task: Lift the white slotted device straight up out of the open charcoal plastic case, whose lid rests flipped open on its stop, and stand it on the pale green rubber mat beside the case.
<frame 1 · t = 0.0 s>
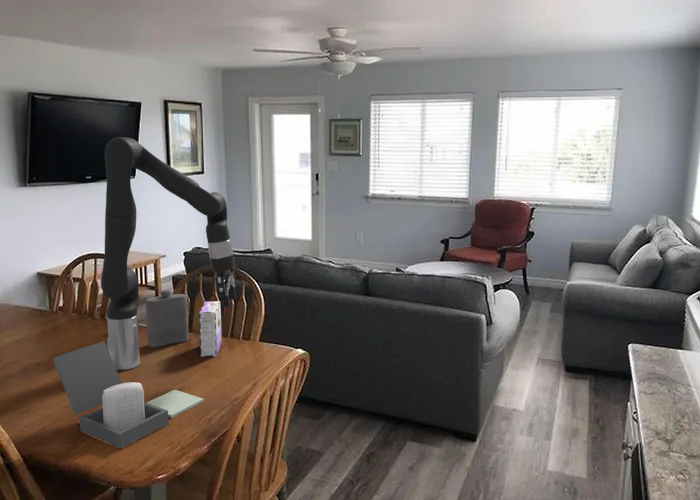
hand: (229, 303, 190), 22 cm above the table, tool pointing down, fingers open, 8 cm apart
flask: (168, 343, 217), on the table
candy box: (211, 350, 210), on the table
case: (125, 428, 153), on the table
mat: (173, 404, 167), on the table
case lid: (89, 376, 158), point 11 cm above the table, hinge at 120.0°
white slotted device: (125, 429, 153), resting in case
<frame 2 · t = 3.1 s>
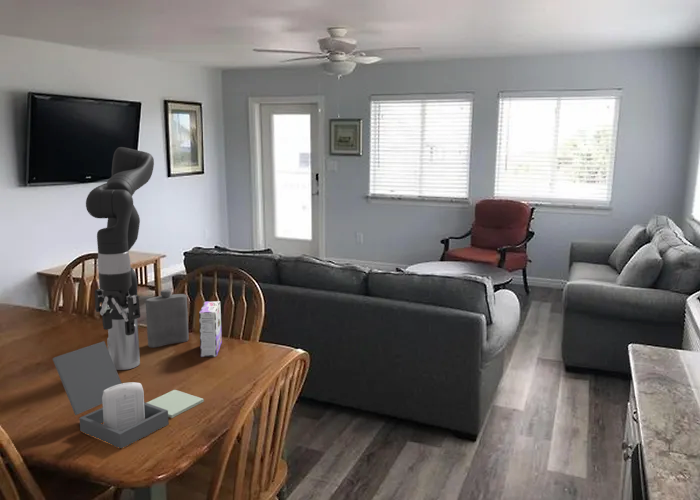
hand: (118, 331, 148), 27 cm above the table, tool pointing down, fingers open, 8 cm apart
nothing on the table moved.
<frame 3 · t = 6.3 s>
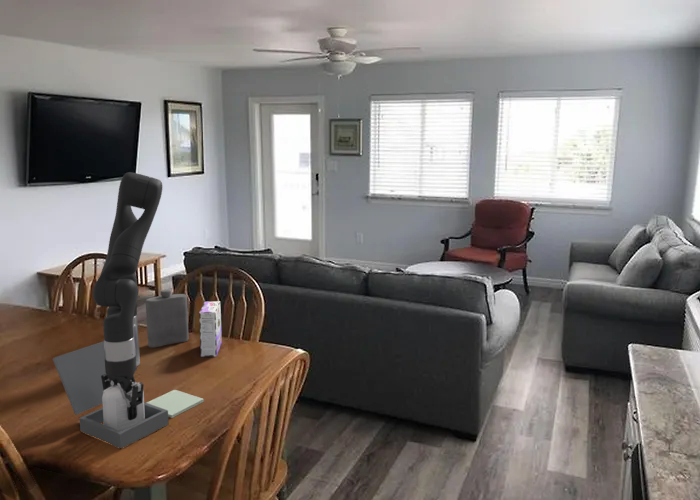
hand: (124, 415, 152), 4 cm above the table, tool pointing down, fingers closed on white slotted device, 5 cm apart
white slotted device: (125, 428, 153), resting in case, touching gripper
everything else where it was.
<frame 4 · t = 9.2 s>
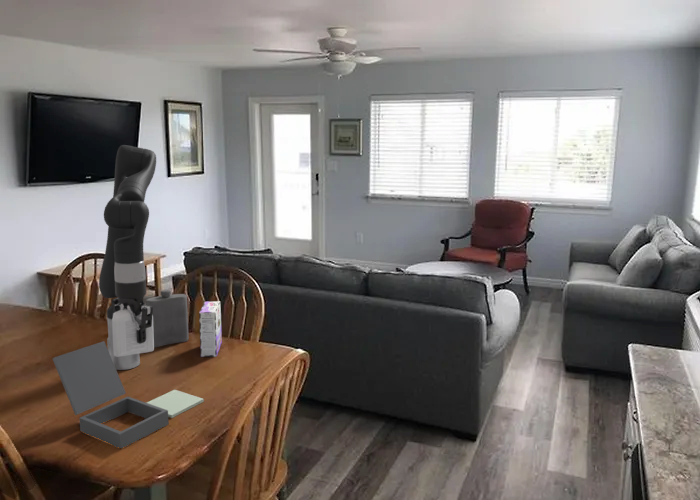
hand: (133, 339, 153), 23 cm above the table, tool pointing down, fingers closed on white slotted device, 5 cm apart
white slotted device: (134, 353, 154), point 19 cm above the table, touching gripper
everything else where it was.
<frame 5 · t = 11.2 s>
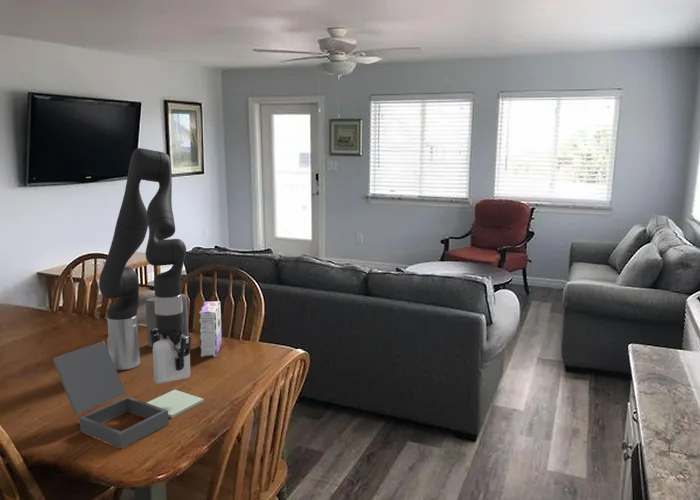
hand: (171, 367, 165), 11 cm above the table, tool pointing down, fingers closed on white slotted device, 5 cm apart
white slotted device: (172, 379, 166), point 7 cm above the table, touching gripper
everything else where it was.
when the fingers open (6 cm above the table, at t = 12.5 s): white slotted device drops 2 cm, resting on mat.
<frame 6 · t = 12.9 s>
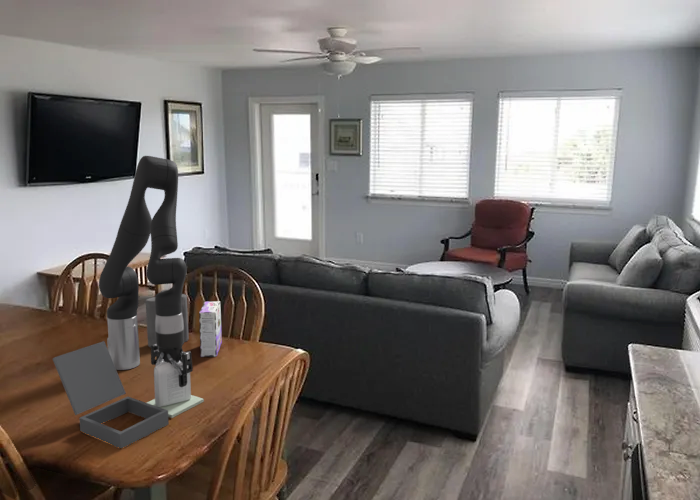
hand: (172, 382, 166), 7 cm above the table, tool pointing down, fingers open, 8 cm apart
white slotted device: (173, 402, 167), point 1 cm above the table, touching mat
everything else where it was.
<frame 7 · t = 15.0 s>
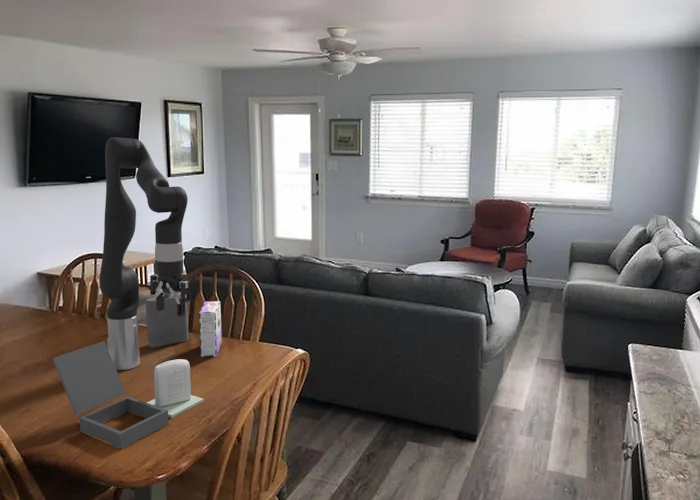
hand: (170, 313, 167), 26 cm above the table, tool pointing down, fingers open, 8 cm apart
nothing on the table moved.
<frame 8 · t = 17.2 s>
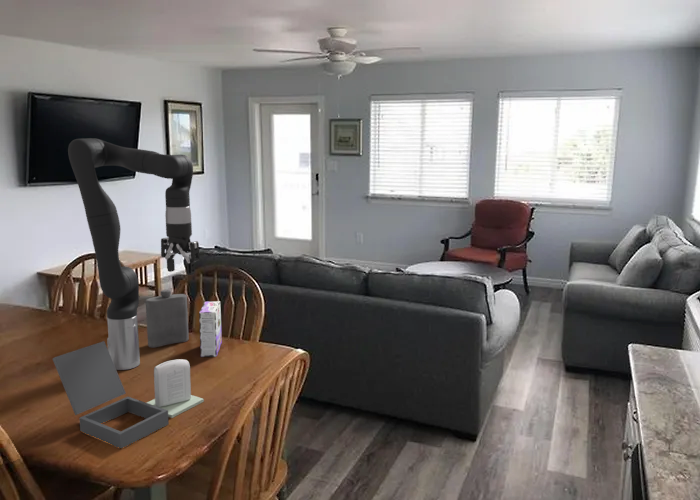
hand: (180, 272, 180), 34 cm above the table, tool pointing down, fingers open, 8 cm apart
nothing on the table moved.
at the end: white slotted device inside the target area on the mat (0.1 cm from its centre), point 0.6 cm above the mat's base; white slotted device tilted 0°; the gripper is holding nothing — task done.
